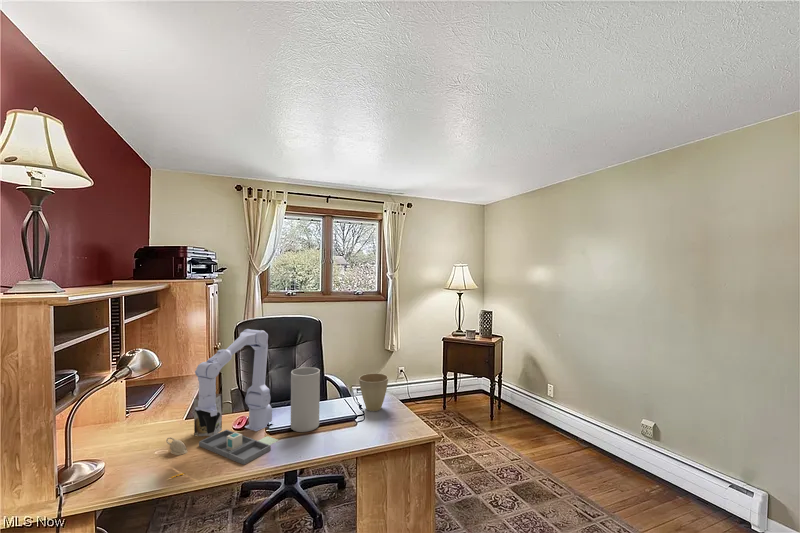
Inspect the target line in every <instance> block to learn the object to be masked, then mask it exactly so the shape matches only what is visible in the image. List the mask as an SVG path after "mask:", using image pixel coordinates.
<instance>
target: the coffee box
mask: <svg viewBox="0 0 800 533" xmlns="http://www.w3.org/2000/svg"><path fill="white" fill-rule="evenodd" d="M193 399H194V400H193V404H194V405H193V406H194V408H193V411H194V414H193V415H194V416H193V419H194V420H193V422H194V425H193V426H194V427H193V428H194V429H193V431H194V433H193V434H194V435H193V436H194V437H205V436H206V437H210V436H213V435H215V434H217V433H220V432H222V431H223V425H222V424H223V394H222V393H216V410H217V413H218V412H219V413H220V416H219V418H218V420H217V422H216V426H215V430H214V432H212V433H209V434H208V433H207V429H206V426H204V427H201V426H200V423H199V419H198V415H197V413H196V412H195V408H196V407H198V401H199V395H198V396H196V397H194V398H193Z"/></svg>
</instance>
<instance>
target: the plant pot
mask: <svg viewBox="0 0 800 533" xmlns="http://www.w3.org/2000/svg"><path fill="white" fill-rule="evenodd" d="M358 382H359V387H360V393H361V396H362V397H361V398H362V401H363V403H364V406H365V408H366V410H367V411H368V412H369V411H370V412H379V411H380V410H381V409H382V407H383V403H384V401H385V397H386V394H387V390H388V382H389V376H388V375H387V374H385V373H378V372H375V373H374V372H373V373H366V374H362V375H360V376H359V377H358Z"/></svg>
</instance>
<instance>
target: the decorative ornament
mask: <svg viewBox="0 0 800 533" xmlns="http://www.w3.org/2000/svg"><path fill="white" fill-rule="evenodd" d="M168 440H172V441H171V442H169V441H168ZM165 441H166V443H167V445H169V446H170V447H169V448H170V454H172V455H175V456H180V455H184V454H187V453H188V452H189V451H188V450H187V447H186V445H185V443H184V442H183V441H182V440H180V439H176V438H173V437H172V436H171V437H170V436H169V437H167V438H166V440H165Z"/></svg>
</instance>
